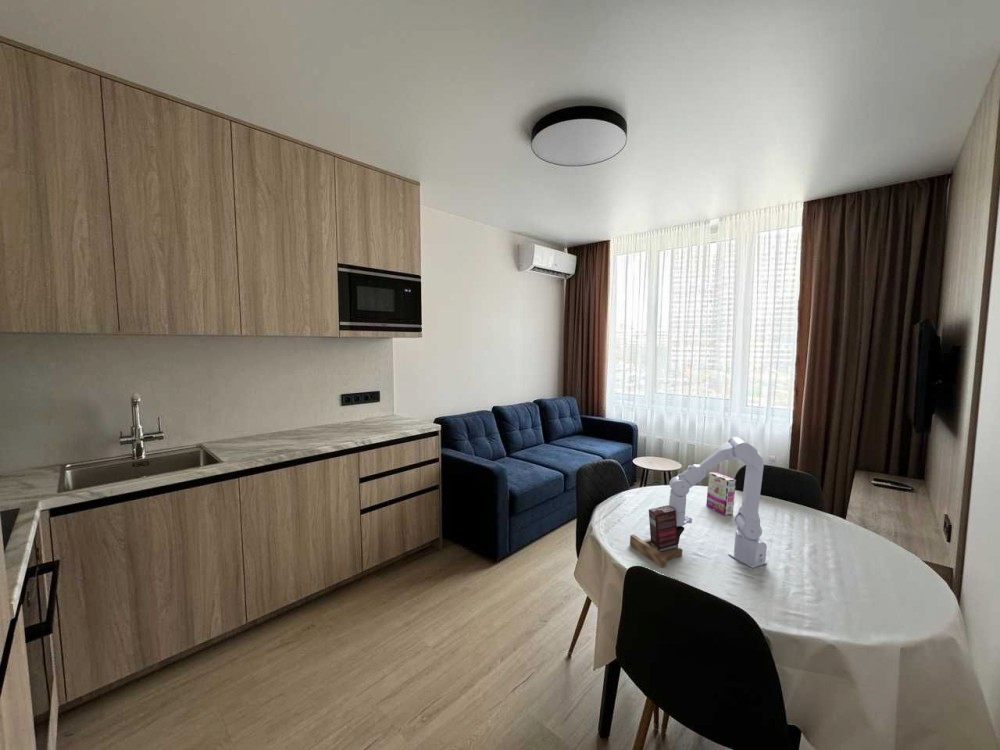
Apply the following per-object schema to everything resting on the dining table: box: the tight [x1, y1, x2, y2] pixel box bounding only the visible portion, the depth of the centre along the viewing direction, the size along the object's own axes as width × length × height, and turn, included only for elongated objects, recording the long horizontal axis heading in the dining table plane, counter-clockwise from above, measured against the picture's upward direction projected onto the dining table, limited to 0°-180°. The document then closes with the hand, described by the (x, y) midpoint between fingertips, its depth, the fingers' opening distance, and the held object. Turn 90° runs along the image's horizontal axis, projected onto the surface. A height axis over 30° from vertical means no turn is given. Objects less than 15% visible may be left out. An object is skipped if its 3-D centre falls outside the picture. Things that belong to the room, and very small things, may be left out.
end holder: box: [629, 534, 683, 568], centre depth 151 cm, size 16×13×4 cm
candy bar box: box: [705, 471, 737, 516], centre depth 189 cm, size 11×5×16 cm, turn 17°
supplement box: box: [648, 504, 679, 553], centre depth 152 cm, size 9×5×16 cm, turn 102°
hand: (674, 543), depth 155 cm, fingers closed, pressing on supplement box
